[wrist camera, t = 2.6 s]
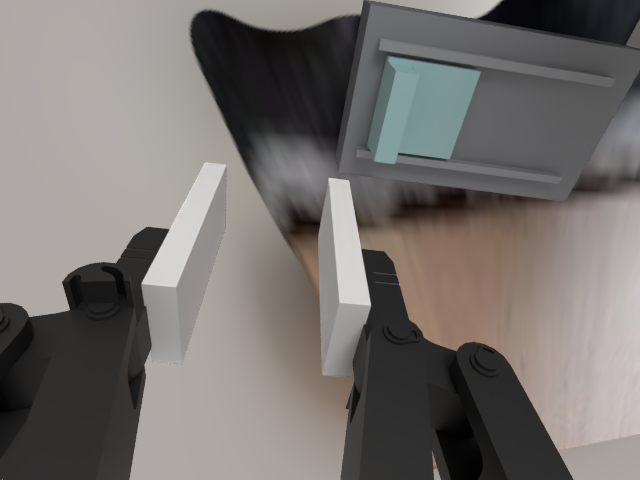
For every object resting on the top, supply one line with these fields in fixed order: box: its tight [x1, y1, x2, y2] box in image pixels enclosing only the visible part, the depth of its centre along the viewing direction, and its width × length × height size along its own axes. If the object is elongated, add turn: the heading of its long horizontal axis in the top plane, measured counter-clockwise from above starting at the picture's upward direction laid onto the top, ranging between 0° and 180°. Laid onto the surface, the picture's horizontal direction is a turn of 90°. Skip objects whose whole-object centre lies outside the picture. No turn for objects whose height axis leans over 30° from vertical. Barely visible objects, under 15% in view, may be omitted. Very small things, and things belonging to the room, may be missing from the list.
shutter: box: [367, 55, 481, 164], centre depth 28 cm, size 6×6×4 cm
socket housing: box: [336, 0, 640, 201], centre depth 31 cm, size 12×20×5 cm, turn 82°
